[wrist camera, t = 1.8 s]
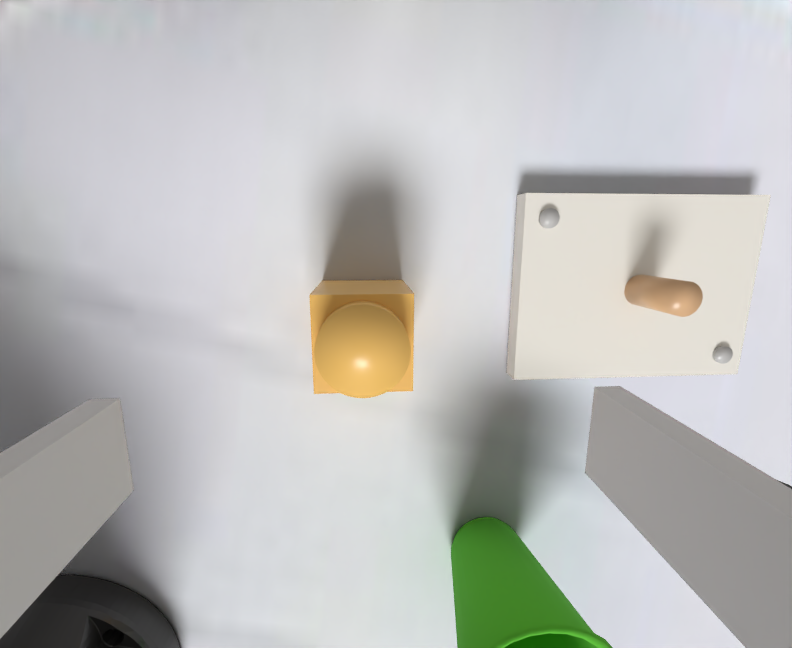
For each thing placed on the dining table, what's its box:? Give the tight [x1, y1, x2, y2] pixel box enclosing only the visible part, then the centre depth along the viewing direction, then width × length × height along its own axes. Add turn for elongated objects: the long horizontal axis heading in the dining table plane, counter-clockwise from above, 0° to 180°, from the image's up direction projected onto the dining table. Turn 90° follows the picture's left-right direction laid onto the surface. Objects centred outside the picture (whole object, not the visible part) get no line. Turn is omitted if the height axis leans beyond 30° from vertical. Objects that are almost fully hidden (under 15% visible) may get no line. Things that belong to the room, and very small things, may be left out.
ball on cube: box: [310, 280, 414, 398], centre depth 24 cm, size 5×5×8 cm
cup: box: [451, 517, 612, 648], centre depth 27 cm, size 9×9×11 cm
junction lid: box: [506, 193, 771, 380], centre depth 26 cm, size 16×12×6 cm
